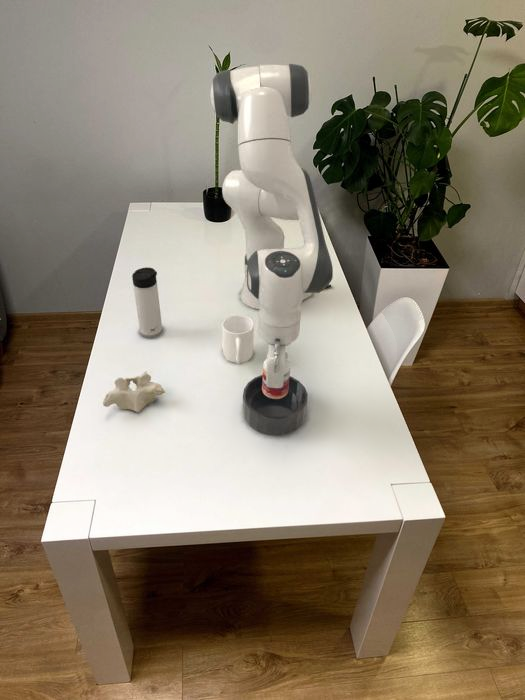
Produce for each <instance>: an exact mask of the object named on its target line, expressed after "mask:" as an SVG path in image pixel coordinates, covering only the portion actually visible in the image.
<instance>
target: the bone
mask: <svg viewBox="0 0 525 700" xmlns="http://www.w3.org/2000/svg"><path fill="white" fill-rule="evenodd" d="M151 380H152V377H151V375H150V374H149V373H148V371H147V370H146V371H143V373H142V374H140V375H136V376H134V377H125V378H123V377H118V378H117V379H115V380H114V386H115V388H114V389H112V390H110V391H108V392H106V394H105V395H104V398H103V401H102V405H103V407H107V408H108V407H110V406H112V405H116V407H118V408H119V409H121V410H132V411H134V412H136V413H139V412H140V411H142V409H143V408H145V407H146V406H147V405H148V404H150V403H152V402H154V401H155V400H156V397H157V396H161V395H163V394H165V393H166V392H165V389H164V387H163V386H162V385H161V384H159V383H158V382H153V381H151ZM131 382H132V383H133V384H135V387H136V388H135V389H134V390H133V389H132V388H131V387H130V385H131Z"/></svg>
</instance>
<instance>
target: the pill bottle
mask: <svg viewBox="0 0 525 700" xmlns="http://www.w3.org/2000/svg"><path fill="white" fill-rule="evenodd" d="M267 357H268V353H267V354H266V359H265V360H264V361H263V364H262V375H263V381H262V391H263V393H264V394H265V395H266V396H267V397H269V398H272V399H280V398H283V397H284V396H286V395H287V393H288V389H289V378H290V376H291V363H290V361H289V354H288V352H287V351H286V355H285V369H284V383H283V387H282V388H270V387H267V386H266V371H267Z"/></svg>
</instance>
